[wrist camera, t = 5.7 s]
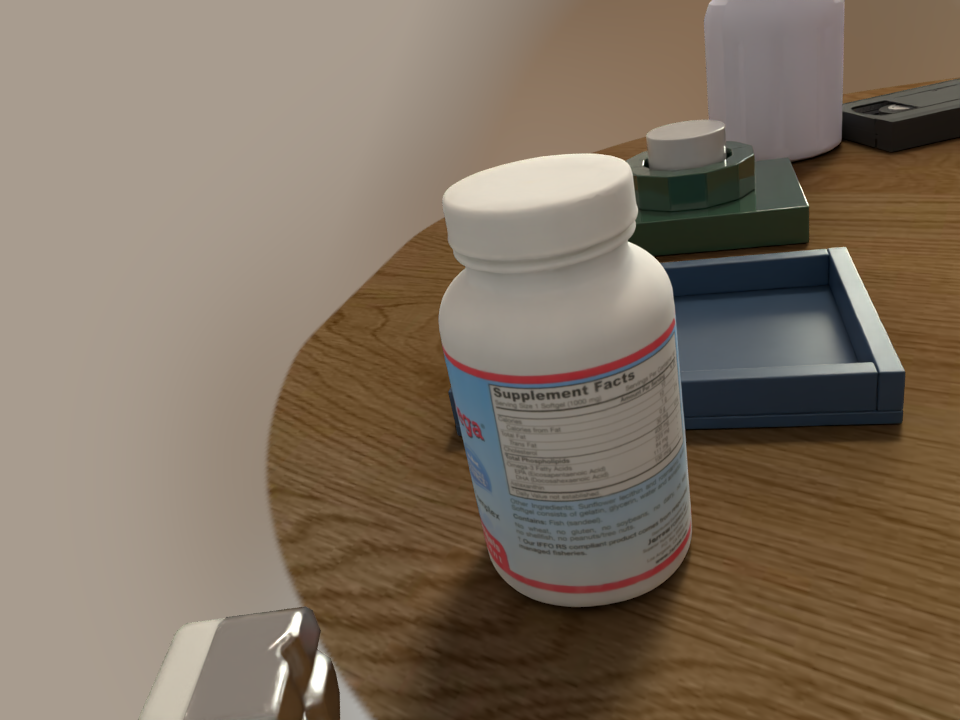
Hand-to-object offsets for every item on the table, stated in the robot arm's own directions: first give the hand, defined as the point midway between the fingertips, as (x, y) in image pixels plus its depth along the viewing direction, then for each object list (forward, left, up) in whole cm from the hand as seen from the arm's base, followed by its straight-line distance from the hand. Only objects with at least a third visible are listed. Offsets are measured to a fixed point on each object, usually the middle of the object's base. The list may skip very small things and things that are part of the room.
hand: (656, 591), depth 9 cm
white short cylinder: (0, +41, -6) cm, 41 cm away
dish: (-1, +24, -9) cm, 25 cm away
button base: (0, +41, -9) cm, 42 cm away
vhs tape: (+18, +58, -9) cm, 61 cm away
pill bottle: (-3, +12, -9) cm, 15 cm away
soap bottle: (+6, +56, -9) cm, 57 cm away
